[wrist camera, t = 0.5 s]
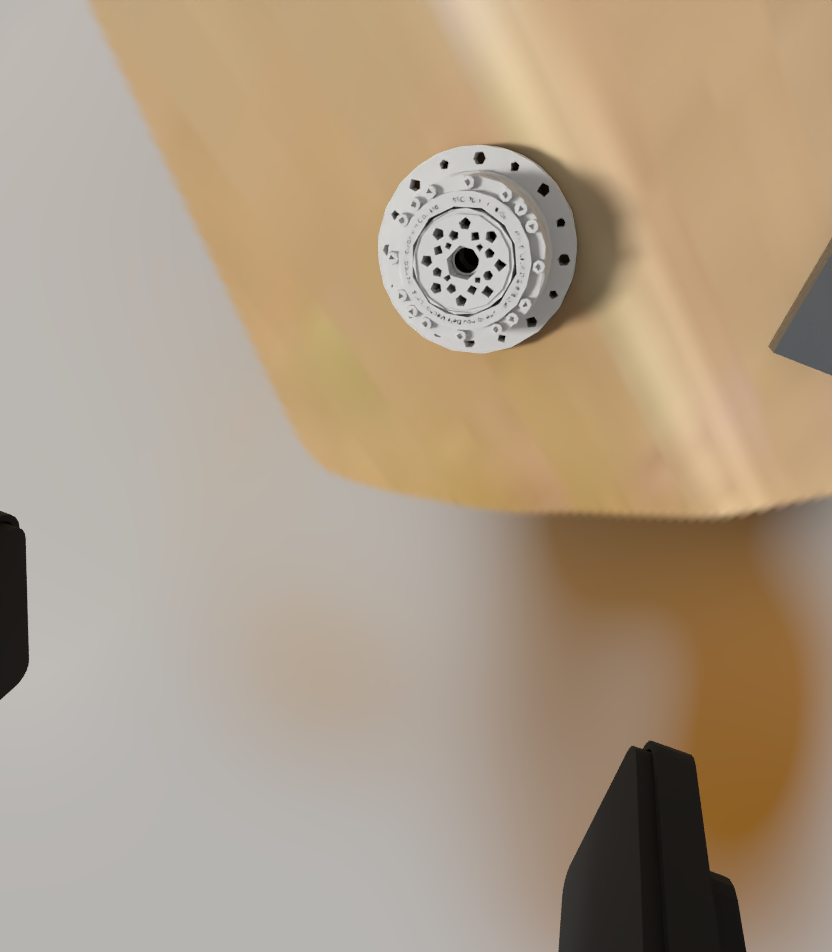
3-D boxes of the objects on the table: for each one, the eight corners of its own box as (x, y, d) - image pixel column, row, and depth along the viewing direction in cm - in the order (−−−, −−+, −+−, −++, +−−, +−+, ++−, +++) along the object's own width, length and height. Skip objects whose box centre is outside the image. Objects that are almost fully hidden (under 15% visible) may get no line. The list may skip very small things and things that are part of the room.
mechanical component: (471, 383, 40) (619, 259, 36) (455, 408, 36) (620, 272, 32) (348, 244, 39) (487, 97, 34) (318, 254, 35) (471, 90, 30)
